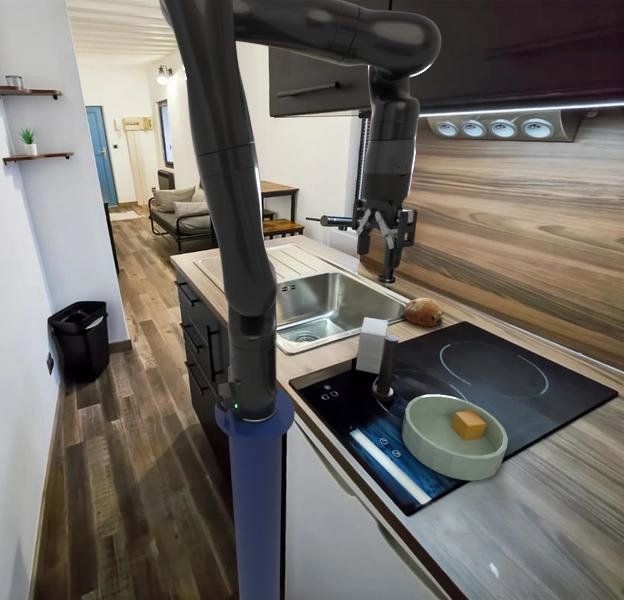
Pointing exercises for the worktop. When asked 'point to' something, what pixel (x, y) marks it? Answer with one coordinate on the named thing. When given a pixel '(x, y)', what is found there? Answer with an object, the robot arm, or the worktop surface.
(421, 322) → the bread roll
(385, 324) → the small box
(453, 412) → the bowl
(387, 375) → the rod
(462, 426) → the block
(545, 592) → the worktop surface
